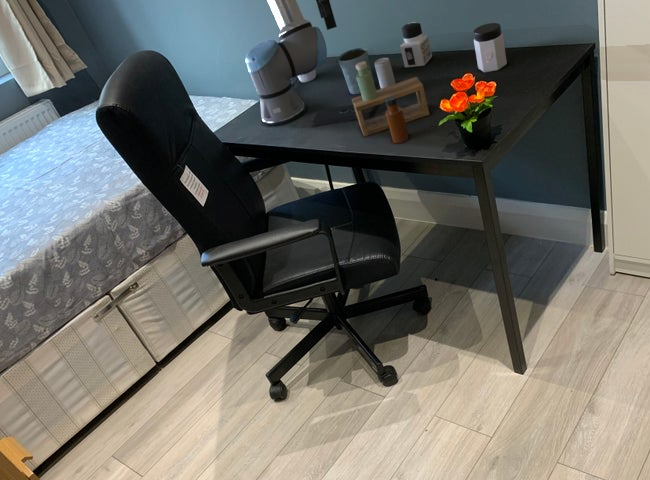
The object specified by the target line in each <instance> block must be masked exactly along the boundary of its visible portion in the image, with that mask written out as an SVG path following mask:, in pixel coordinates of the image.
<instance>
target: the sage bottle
mask: <svg viewBox="0 0 650 480" xmlns="http://www.w3.org/2000/svg"><path fill="white" fill-rule="evenodd" d="M356 69H357V70H358V73H359V74H357V76H356V78H357V81H358V85H359V88H360V92H361V95H362V99H363V100H364V101H370V100H373V99H375V98H376V97H377V92H376V90H377V89H376V85H375V80H374V77H373V73H371V72H372V70H371V71H367V64H366V62H359V63H357V64H356ZM361 95H360V96H361Z"/></svg>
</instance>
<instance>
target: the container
mask: <svg viewBox="0 0 650 480" xmlns="http://www.w3.org/2000/svg"><path fill="white" fill-rule="evenodd" d="M401 34H402V37H403V42H402V43H401V44H400V45H399V49H400V53H401V57H402V62H403V66H404V68H413V67H424V66H426V64H428V62H429V61H430V60H431V59H432V58H433V52H432V49H431V48H432V47H431V44H430V43H431V42H430V39H429V35H428V34H423V29H422V25H421V23H420V22H418V21H412V22H408V23H406V24H404V25H403V26H402V27H401Z"/></svg>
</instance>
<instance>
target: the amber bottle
mask: <svg viewBox="0 0 650 480" xmlns="http://www.w3.org/2000/svg"><path fill="white" fill-rule="evenodd" d="M384 104H385V106H386V108H387V109H386V111H385V114H386V117H387V121H388V125H389V128H388V130H389V132H390V136H391V140H392V143H393V144H394V143H395V144H402V143H404V142H406V141H407V140H408V139H410V138H409V132H408V128H407V122H406V123H405V119H404V115H403V111H402V109H403V108H402V107H401V106H398V98H396V96H390V97H387V98H386V99H385V102H384ZM385 114H384V115H385Z"/></svg>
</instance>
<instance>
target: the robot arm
mask: <svg viewBox="0 0 650 480" xmlns="http://www.w3.org/2000/svg"><path fill="white" fill-rule="evenodd" d="M266 2H267V4H268V6H269V8H270V11H271V12H272V15H273V17H274V19H275V22H276V24H277V27H278V28H279V33H278V36H277V38H278V40H279V42H277V41H276V40H275V39H269V40H267V41H263V42H261V43H259V44H257V45H256V46H254V47H253V48H252V49H250V50H249V51H248V53H247V54H246V55H245V58H244V59H245V64H246V68H247V72H248V74H249V76H250V78H251V80H252V83H253V85H254V89H255V90H256V93H257V95H258V98H259V103H260V116H261V120H262V123H263V125H266V126H270V127H271V126H280V125H283V124H287V123H289V122H291V121H294V120H296V119H297V118H299V117H300V116H302V115H303V114H304V113H305V112H306V105H305V103H304V100H303V99H302V98H301V97H300V95H299V94H298V93H297V92H296V90H295V89H294V86H295V85H296V84H297V82H298V80H299V78H298V77H297V76H299V75H301V74H303V73H305V72H308V71H310V70H312V69H315V70H316V69H317V68H318V67H320V66H322V65H324V64H325V63H326V61H327V57H328V50H327V49H328V48H327V45H326V40H325V37H324V34H323V31H321V29H320V28H319V27H318V26H313V24H312V22H311V21H310V20H308V19H306V18H304V16H303V13H302V11H301V9H300V6H299V4H298V2H297V0H266ZM315 2H316V6H317V10H318V12H319V15H320V19H323V21H324V25H325V27H326V30H327V31H329V30H331V29H334V28H337V22H336V19H335V15H334V11H333V9H332V4H331V2H330V0H315ZM292 79H294V80H293V82H291V80H292Z"/></svg>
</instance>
